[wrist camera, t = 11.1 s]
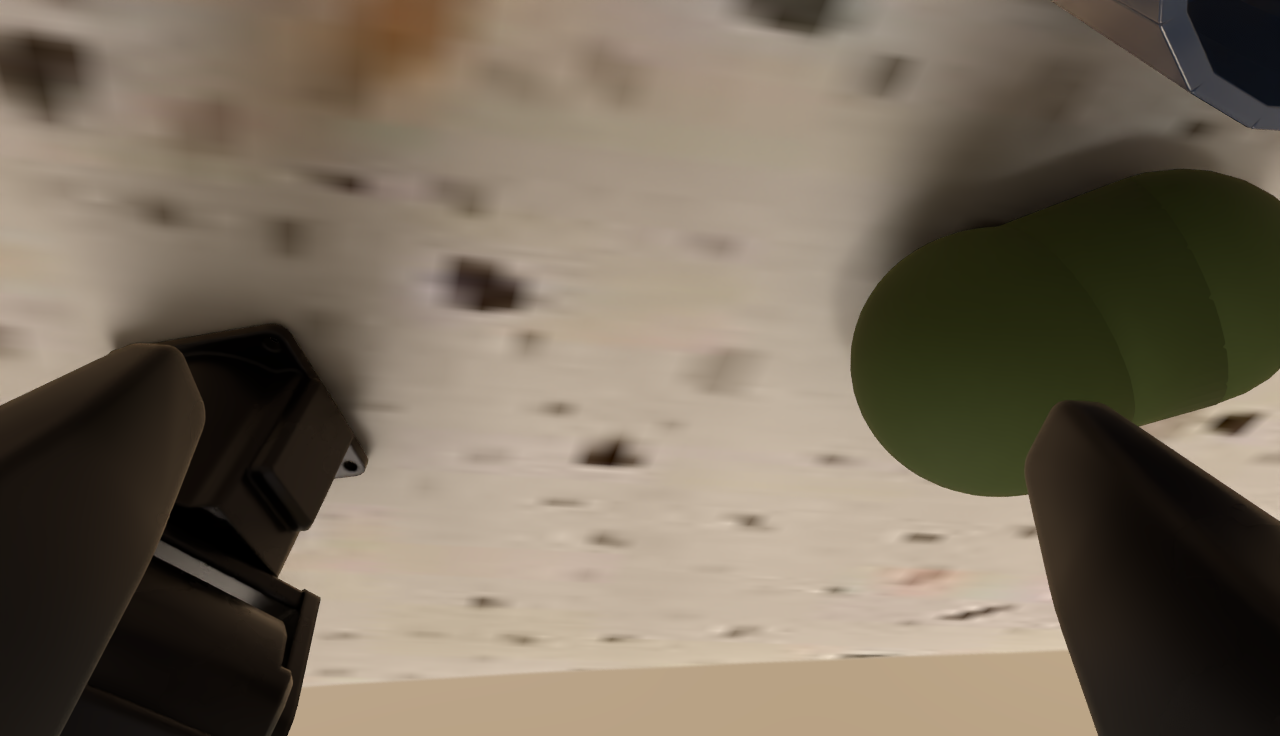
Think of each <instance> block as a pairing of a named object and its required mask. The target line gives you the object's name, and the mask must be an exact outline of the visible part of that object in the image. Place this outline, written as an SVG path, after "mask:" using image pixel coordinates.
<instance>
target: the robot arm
mask: <svg viewBox="0 0 1280 736" xmlns="http://www.w3.org/2000/svg"><path fill="white" fill-rule="evenodd" d="M270 338H273V339H276V340H277V341H278V342H279V343H277V342H274V341H272V340H271V339H270ZM351 461H352V462H351ZM353 462H354V463H353ZM367 464H368V458H367V455H366V454H365V452H364V451H363V449H362V447H361V446H360V444H359V442H358V441H357V439H356V438H355V436H354V434H353V432H352V431H351V429H350V427H349V426H348V424H347V422H346V421H345V419H344V418H343V416H342V414H341V413H340V411H339V410H338V408H337V406H336V405H335V403H334V401H333V400H332V398H331V397H330V395H329V393H328V392H327V390H326V389H325V387H324V385H323V384H322V383H321V381H320V379H319V378H318V376H317V375H316V373H315V371H314V370H313V368H312V367H311V365H310V363H309V362H308V360H307V358H306V357H305V355H304V354H303V352H302V350H301V349H300V347H299V346H298V344H297V342H296V341H295V339H294V337H293V336H292V334H291V333H290V332H289V331H288V330H287V329H286V328H284V327H283V326H281V325H278V324H264V325H258V326H252V327H246V328H240V329H234V330H228V331H222V332H216V333H211V334H205V335H199V336H193V337H187V338H181V339H175V340H169V341H163V342H157V343H151V344H142V343H138V344H130V345H127V346H125V347H123V348H121V349H115V350H113V351H111V352H110V353H109V354H108V355H106V356H104V357H102V358H100V359H98V360H95V361H93V362H91V363H89V364H87V365H85V366H83V367H81V368H79V369H76V370H74V371H72V372H70V373H68V374H66V375H64V376H62V377H60V378H57V379H55V380H53V381H51V382H49V383H47V384H45V385H43V386H41V387H39V388H36V389H34V390H32V391H30V392H28V393H26V394H24V395H22V396H20V397H17V398H15V399H13V400H11V401H9V402H7V403H5V404H3V405H1V406H0V736H287V735H288V732H289V730H290V728H291V725H292V723H293V720H294V717H295V713H296V710H297V706H298V701H299V696H300V692H301V688H302V683H303V678H304V674H305V669H306V664H307V660H308V655H309V650H310V646H311V641H312V636H313V632H314V627H315V622H316V618H317V613H318V609H319V604H320V597H318V596H316V595H315V594H313V593H311V592H309V591H307V590H305V589H304V590H302V591H300V590H299V589H297V588H295V587H293V586H291V585H289V584H288V583H286V582H284V581H282V580H280V579H278V576H279V573H280V571H281V569H282V567H283V565H284V563H285V561H286V559H287V557H288V555H289V553H290V551H291V549H292V547H293V545H294V543H295V540H296V538H297V536H298V534H299V532H300V531H305V530H308V529H309V528H310V527H311V525H312V524H313V522H314V520H315V518H316V516H317V513H318V511H319V509H320V507H321V505H322V503H323V501H324V499H325V497H326V494H327V492H328V490H329V488H330V486H331V484H332V482H333V480H334V479H335V478H343V477H351V476H357V475H361V474H362V473H363V472H364V471H365V468H366V466H367ZM1024 473H1025V481H1026V486H1027V490H1028V495H1029V499H1030V504H1031V508H1032V513H1033V517H1034V521H1035V526H1036V530H1037V535H1038V539H1039V544H1040V548H1041V553H1042V557H1043V562H1044V566H1045V570H1046V575H1047V579H1048V584H1049V588H1050V592H1051V596H1052V600H1053V604H1054V607H1055V611H1056V614H1057V617H1058V620H1059V623H1060V627H1061V630H1062V633H1063V636H1064V638H1065V641H1066V644H1067V647H1068V650H1069V653H1070V656H1071V658H1072V662H1073V664H1074V667H1075V670H1076V673H1077V676H1078V678H1079V682H1080V685H1081V687H1082V690H1083V693H1084V696H1085V699H1086V702H1087V704H1088V708H1089V710H1090V713H1091V716H1092V719H1093V722H1094V725H1095V728H1096V731H1097V733H1098V736H1280V521H1278V520H1277V519H1275V518H1274V517H1272V516H1271V515H1269V514H1268V513H1266V512H1265V511H1263V510H1262V509H1260V508H1259V507H1257V506H1256V505H1255V504H1253V503H1252V502H1250V501H1249V500H1247V499H1246V498H1244V497H1243V496H1241V495H1240V494H1238V493H1237V492H1235V491H1234V490H1232V489H1231V488H1229V487H1228V486H1226V485H1225V484H1223V483H1222V482H1220V481H1219V480H1217V479H1216V478H1214V477H1213V476H1211V475H1210V474H1208V473H1207V472H1205V471H1204V470H1202V469H1201V468H1199V467H1198V466H1196V465H1195V464H1193V463H1192V462H1190V461H1189V460H1187V459H1186V458H1184V457H1183V456H1181V455H1180V454H1179V453H1177V452H1176V451H1174V450H1173V449H1171V448H1170V447H1168V446H1167V445H1165V444H1164V443H1162V442H1161V441H1159V440H1158V439H1156V438H1155V437H1153V436H1152V435H1150V434H1149V433H1147V432H1146V431H1144V430H1143V429H1141V428H1140V427H1138V426H1137V425H1135V424H1134V423H1132V422H1131V421H1129V420H1128V419H1126V418H1125V417H1123V416H1122V415H1120V414H1119V413H1117V412H1116V411H1114V410H1113V409H1111V408H1110V407H1108V406H1107V405H1105V404H1102V403H1099V402H1091V401H1074V400H1064V401H1060V402H1058V403H1057V404H1056V405H1054V406H1053V407H1052V409H1051V410H1050V412H1049V414H1048V416H1047V418H1046V420H1045V421H1044V423H1043V425H1042V427H1041V429H1040V431H1039V433H1038V435H1037V437H1036V439H1035V441H1034V443H1033V444H1032V446H1031V448H1030V450H1029V452H1028V454H1027V457H1026V461H1025V468H1024Z"/></svg>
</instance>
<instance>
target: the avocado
mask: <svg viewBox="0 0 1280 736" xmlns="http://www.w3.org/2000/svg"><path fill="white" fill-rule="evenodd" d="M1279 369H1280V201H1279V200H1278V199H1277V198H1276V197H1274V196H1273V195H1271V194H1269V193H1268V192H1266V191H1264V190H1262V189H1260V188H1258V187H1257V186H1255V185H1253V184H1251V183H1249V182H1247V181H1245V180H1242V179H1239V178H1235V177H1232V176H1228V175H1224V174H1220V173H1217V172H1213V171H1206V170H1191V169H1174V170H1164V171H1155V172H1146V173H1143V174H1139V175H1136V176H1132V177H1129V178H1125V179H1122V180H1119V181H1116V182H1114V183H1111V184H1108V185H1106V186H1103V187H1101V188H1098V189H1095V190H1093V191H1090V192H1087V193H1085V194H1082V195H1079V196H1077V197H1074V198H1072V199H1069V200H1066V201H1064V202H1061V203H1058V204H1056V205H1053V206H1050V207H1048V208H1045V209H1043V210H1040V211H1037V212H1035V213H1032V214H1029V215H1027V216H1024V217H1021V218H1019V219H1016V220H1014V221H1011V222H1008V223H1006V224H1003V225H1000V226H998V227H985V228H976V229H971V230H966V231H961V232H957V233H954V234H951V235H948V236H945V237H942V238H940V239H937V240H935V241H933V242H931V243H928V244H926V245H925V246H923V247H921V248H919V249H918V250H916V251H914V252H913V253H911V254H910V255H908V256H907V257H906V258H904V259H903V260H901V261H900V262H899V263H898V264H897V265H896V266H894V267H893V268H892V269H891V270H890V271H889V272H888V273H887V274H886V275H885V276H884V277H883V279H882V280H881V281H880V282H879V283H878V285H877V286H876V287H875V289H874V290H873V292H872V293H871V295H870V296H869V298H868V300H867V302H866V303H865V305H864V307H863V309H862V311H861V313H860V316H859V319H858V322H857V324H856V328H855V331H854V336H853V341H852V346H851V376H852V383H853V389H854V394H855V397H856V400H857V403H858V406H859V408H860V411H861V413H862V416H863V417H864V419H865V421H866V423H867V425H868V426H869V428H870V430H871V431H872V433H873V434H874V436H875V437H876V438H877V440H878V441H879V442H880V443H881V445H882V446H883V447H884V448H885V449H886V450H887V451H888V452H889V453H890V454H891V455H892V456H893V457H894V458H895V459H896V460H897V461H899V462H900V463H901V464H902V465H904V466H905V467H906V468H908V469H909V470H911V471H912V472H914V473H915V474H917V475H918V476H920V477H922V478H924V479H926V480H928V481H930V482H933V483H935V484H937V485H939V486H941V487H944V488H948V489H951V490H954V491H958V492H962V493H966V494H971V495H977V496H987V497H1008V496H1020V495H1027V494H1028V490H1027V486H1026V481H1025V473H1024V468H1025V461H1026V457H1027V454H1028V452H1029V450H1030V448H1031V446H1032V444H1033V443H1034V441H1035V439H1036V437H1037V435H1038V433H1039V431H1040V429H1041V427H1042V425H1043V423H1044V421H1045V420H1046V418H1047V416H1048V414H1049V412H1050V410H1051V409H1052V407H1053V406H1054V405H1056V404H1057V403H1058V402H1060V401H1064V400H1074V401H1091V402H1099V403H1102V404H1105V405H1107V406H1108V407H1110V408H1111V409H1113V410H1114V411H1116V412H1117V413H1119V414H1120V415H1122V416H1123V417H1125V418H1126V419H1128V420H1129V421H1131V422H1132V423H1134V424H1135V425H1137V426H1138V427H1139V426H1142V425H1146V424H1149V423H1153V422H1156V421H1160V420H1163V419H1167V418H1170V417H1174V416H1177V415H1181V414H1185V413H1188V412H1192V411H1195V410H1199V409H1202V408H1206V407H1209V406H1213V405H1216V404H1218V403H1220V402H1223V401H1226V400H1228V399H1231V398H1234V397H1236V396H1239V395H1241V394H1244V393H1246V392H1248V391H1250V390H1251V389H1253V388H1254V387H1256V386H1258V385H1259V384H1261V383H1263V382H1264V381H1266V380H1268V379H1269V378H1270V377H1271V376H1273V375H1274V374H1275V373H1276V372H1277V371H1278V370H1279Z"/></svg>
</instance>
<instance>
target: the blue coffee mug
mask: <svg viewBox="0 0 1280 736" xmlns="http://www.w3.org/2000/svg"><path fill="white" fill-rule="evenodd" d="M1050 1H1052V2H1053V3H1055V4H1056V5H1058V6H1059V7H1061V8H1062V9H1064V10H1066V11H1067V12H1069V13H1070V14H1072V15H1073V16H1075V17H1076V18H1078V19H1079V20H1081V21H1082V22H1084V23H1085V24H1087V25H1088V26H1090V27H1091V28H1093V29H1094V30H1096V31H1097V32H1099V33H1100V34H1102V35H1103V36H1105V37H1106V38H1108V39H1109V40H1111V41H1112V42H1114V43H1115V44H1117V45H1118V46H1120V47H1121V48H1123V49H1124V50H1126V51H1127V52H1129V53H1131V54H1132V55H1134V56H1135V57H1137V58H1138V59H1140V60H1141V61H1143V62H1144V63H1146V64H1147V65H1149V66H1150V67H1152V68H1153V69H1155V70H1156V71H1158V72H1159V73H1161V74H1162V75H1164V76H1165V77H1167V78H1168V79H1170V80H1171V81H1173V82H1174V83H1176V84H1177V85H1179V86H1180V87H1182V88H1183V89H1185V90H1186V91H1188V92H1189V93H1191V94H1193V95H1194V96H1196V97H1198V98H1199V99H1201V100H1203V101H1204V102H1206V103H1208V104H1209V105H1211V106H1213V107H1214V108H1216V109H1218V110H1219V111H1221V112H1222V113H1224V114H1226V115H1227V116H1229V117H1231V118H1232V119H1234V120H1236V121H1237V122H1239V123H1241V124H1242V125H1244V126H1246V127H1249V128H1252V129H1263V130H1279V131H1280V0H1050Z"/></svg>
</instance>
